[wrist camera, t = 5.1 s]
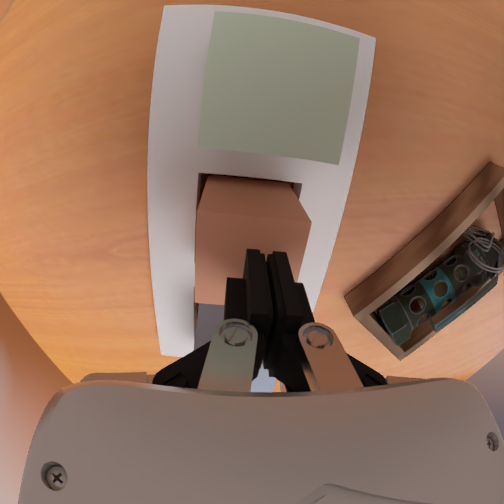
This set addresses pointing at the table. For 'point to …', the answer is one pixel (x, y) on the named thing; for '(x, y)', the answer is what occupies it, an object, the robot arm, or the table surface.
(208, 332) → the slate block
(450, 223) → the grenade cradle
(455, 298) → the stun grenade
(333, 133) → the sage block
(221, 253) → the terracotta block
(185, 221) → the board
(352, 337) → the table surface
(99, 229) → the table surface
